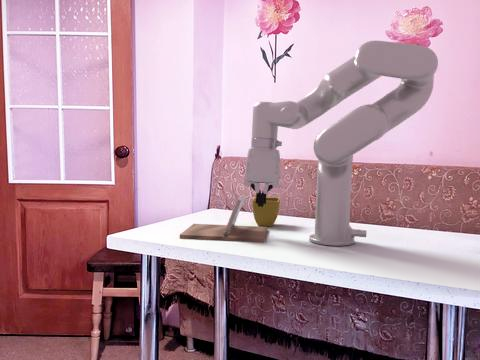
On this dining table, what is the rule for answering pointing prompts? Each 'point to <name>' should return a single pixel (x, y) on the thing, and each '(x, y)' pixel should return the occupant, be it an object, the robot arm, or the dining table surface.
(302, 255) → the dining table surface
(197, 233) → the hinge board
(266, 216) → the flower pot
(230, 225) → the tile
